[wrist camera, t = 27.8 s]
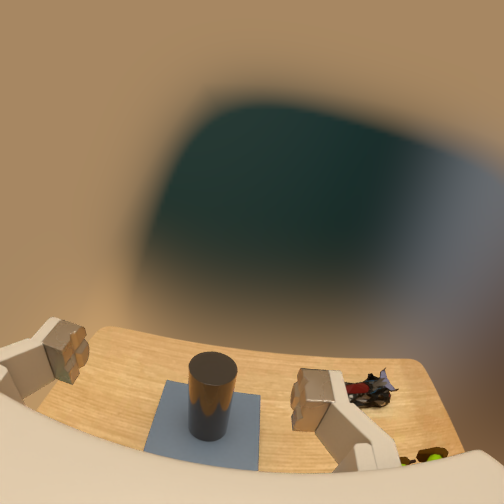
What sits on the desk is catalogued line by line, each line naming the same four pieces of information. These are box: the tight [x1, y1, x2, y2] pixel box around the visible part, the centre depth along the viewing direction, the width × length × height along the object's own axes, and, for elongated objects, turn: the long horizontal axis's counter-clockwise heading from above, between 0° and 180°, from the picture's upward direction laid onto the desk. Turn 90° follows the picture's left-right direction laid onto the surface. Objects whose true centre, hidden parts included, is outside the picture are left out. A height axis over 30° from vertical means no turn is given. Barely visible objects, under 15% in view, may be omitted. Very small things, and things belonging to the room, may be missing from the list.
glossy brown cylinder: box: [188, 352, 237, 442], centre depth 28 cm, size 4×4×10 cm
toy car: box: [344, 368, 398, 408], centre depth 40 cm, size 6×12×4 cm, turn 95°
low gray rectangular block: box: [144, 380, 260, 471], centre depth 31 cm, size 12×12×4 cm
